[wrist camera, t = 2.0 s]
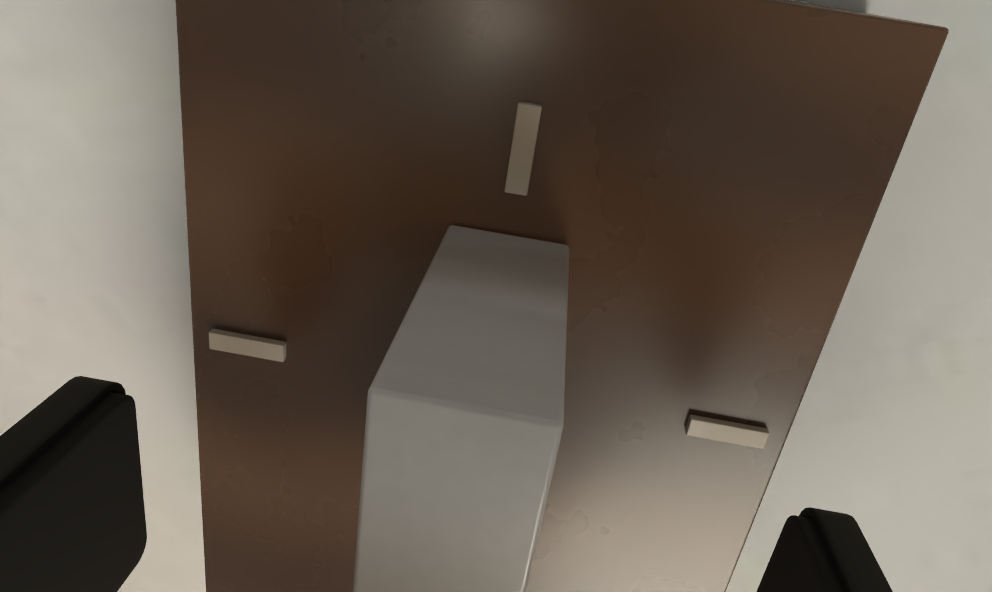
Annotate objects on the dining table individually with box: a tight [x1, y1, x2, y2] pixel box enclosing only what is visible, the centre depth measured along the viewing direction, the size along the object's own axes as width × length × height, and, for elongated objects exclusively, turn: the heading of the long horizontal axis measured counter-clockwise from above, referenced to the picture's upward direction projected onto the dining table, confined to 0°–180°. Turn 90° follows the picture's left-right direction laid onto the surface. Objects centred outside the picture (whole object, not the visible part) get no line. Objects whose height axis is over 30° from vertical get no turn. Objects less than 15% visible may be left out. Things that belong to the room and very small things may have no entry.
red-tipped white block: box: [353, 225, 569, 592], centre depth 10 cm, size 6×2×5 cm, turn 172°
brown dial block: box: [176, 0, 948, 592], centre depth 14 cm, size 14×11×3 cm
